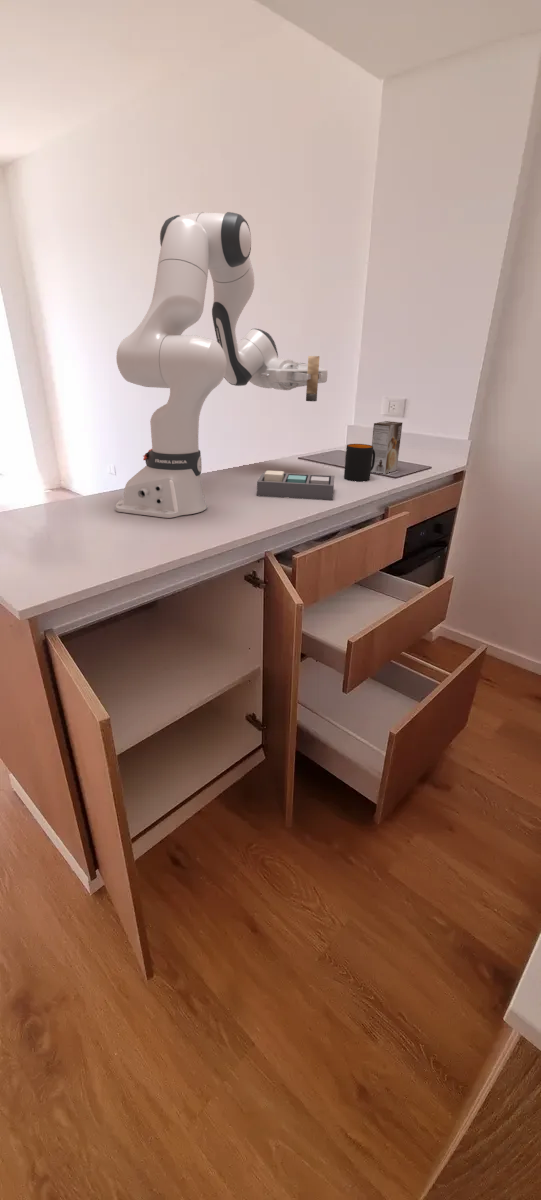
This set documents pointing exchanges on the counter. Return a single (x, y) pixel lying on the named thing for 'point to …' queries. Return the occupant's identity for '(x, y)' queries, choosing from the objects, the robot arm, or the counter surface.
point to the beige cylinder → (312, 378)
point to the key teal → (296, 479)
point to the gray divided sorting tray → (296, 488)
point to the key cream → (274, 476)
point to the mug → (359, 462)
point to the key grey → (319, 480)
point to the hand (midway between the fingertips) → (314, 377)
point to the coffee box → (386, 446)
